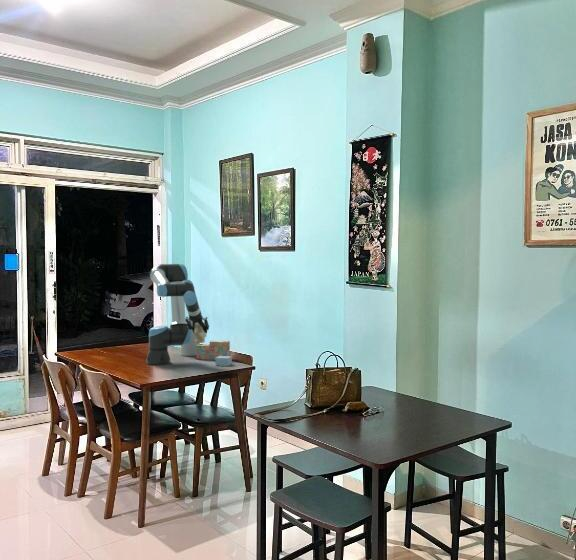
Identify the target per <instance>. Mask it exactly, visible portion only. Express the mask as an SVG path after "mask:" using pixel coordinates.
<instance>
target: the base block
mask: <svg viewBox="0 0 576 560" xmlns="http://www.w3.org/2000/svg"><path fill="white" fill-rule="evenodd" d="M232 358H233V357H232V355H231V356H218V357H216V360H215V366H216V365H219V367H229V366H230V365H232Z"/></svg>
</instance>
